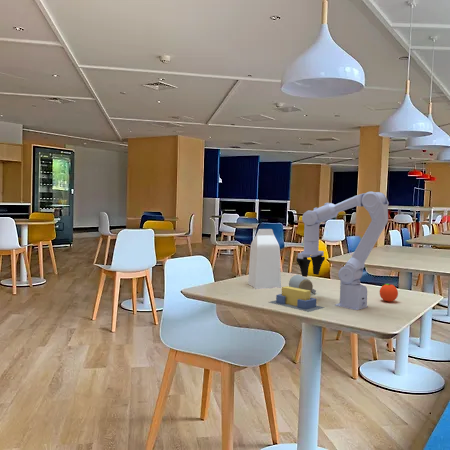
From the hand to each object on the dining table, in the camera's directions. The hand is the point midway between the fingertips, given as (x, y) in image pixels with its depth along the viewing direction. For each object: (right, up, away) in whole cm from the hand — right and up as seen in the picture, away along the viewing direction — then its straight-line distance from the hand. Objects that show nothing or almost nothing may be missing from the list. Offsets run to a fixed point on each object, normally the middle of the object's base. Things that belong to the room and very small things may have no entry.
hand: (310, 275), depth 181 cm
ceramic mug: (-1, -9, +13) cm, 16 cm away
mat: (-7, -10, -9) cm, 15 cm away
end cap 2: (-4, -10, -12) cm, 17 cm away
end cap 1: (-11, -10, -5) cm, 15 cm away
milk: (-16, -8, +28) cm, 34 cm away
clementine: (+31, -11, +1) cm, 33 cm away
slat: (-7, -10, -9) cm, 15 cm away
